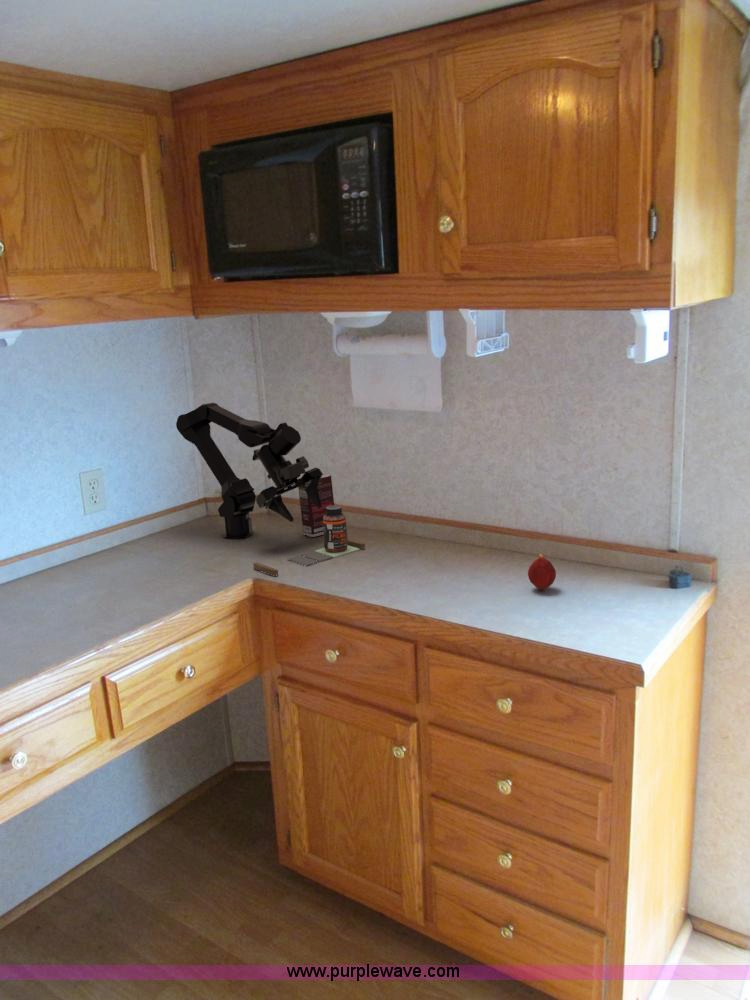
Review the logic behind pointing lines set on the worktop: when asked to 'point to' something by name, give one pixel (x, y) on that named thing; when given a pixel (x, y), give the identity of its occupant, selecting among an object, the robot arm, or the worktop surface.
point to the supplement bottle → (335, 529)
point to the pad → (336, 554)
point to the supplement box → (315, 507)
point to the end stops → (275, 571)
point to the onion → (541, 573)
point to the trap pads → (309, 558)
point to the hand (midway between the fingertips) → (306, 514)
